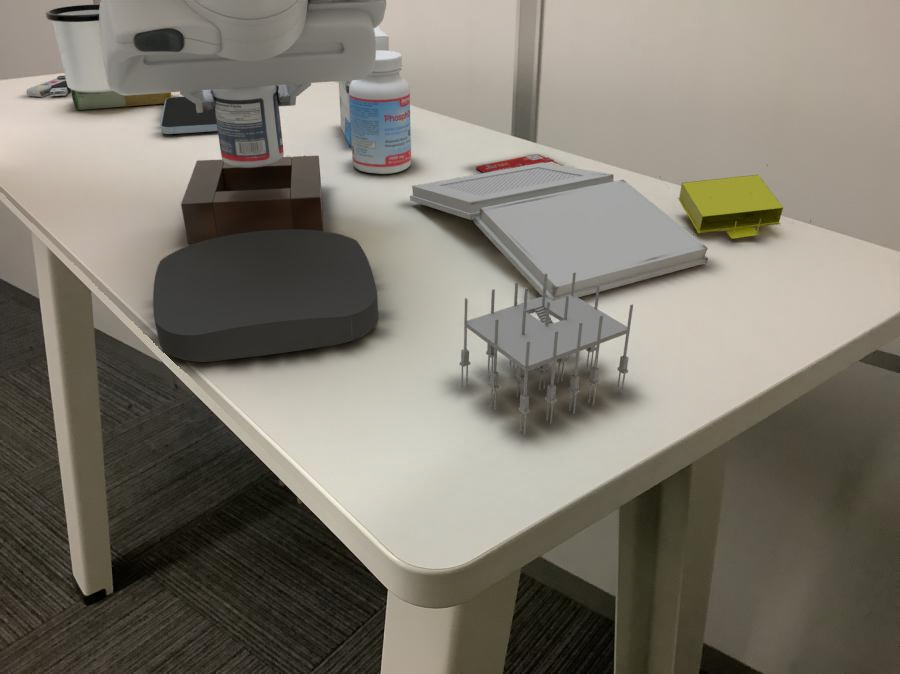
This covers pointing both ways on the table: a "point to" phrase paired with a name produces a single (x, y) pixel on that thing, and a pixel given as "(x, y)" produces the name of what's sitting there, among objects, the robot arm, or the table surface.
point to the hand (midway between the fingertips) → (244, 101)
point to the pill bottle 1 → (248, 126)
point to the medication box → (115, 99)
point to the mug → (80, 46)
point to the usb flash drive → (56, 89)
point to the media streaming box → (263, 295)
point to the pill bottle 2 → (381, 117)
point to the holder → (252, 198)
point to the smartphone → (185, 117)
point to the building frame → (545, 340)
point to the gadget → (568, 226)
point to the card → (515, 163)
